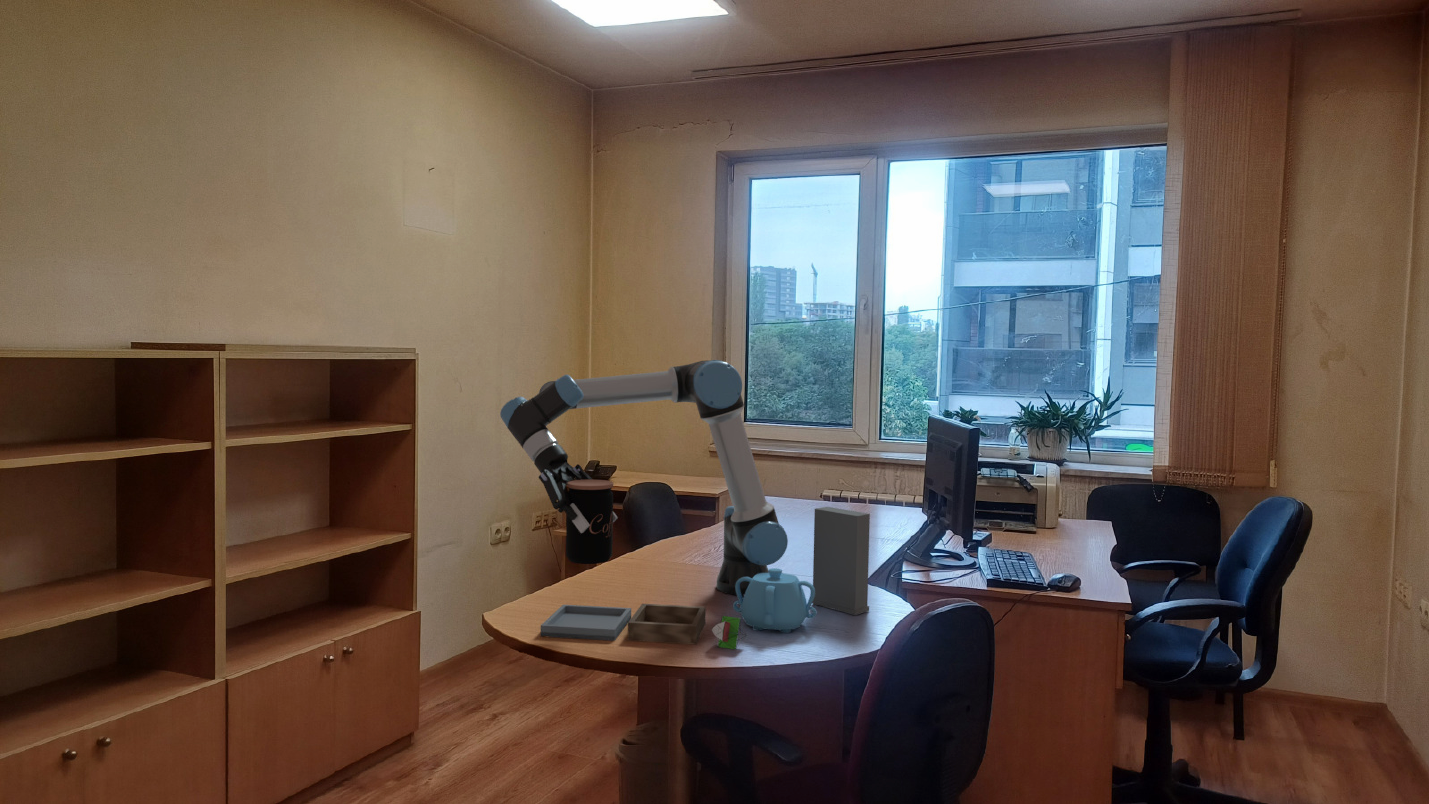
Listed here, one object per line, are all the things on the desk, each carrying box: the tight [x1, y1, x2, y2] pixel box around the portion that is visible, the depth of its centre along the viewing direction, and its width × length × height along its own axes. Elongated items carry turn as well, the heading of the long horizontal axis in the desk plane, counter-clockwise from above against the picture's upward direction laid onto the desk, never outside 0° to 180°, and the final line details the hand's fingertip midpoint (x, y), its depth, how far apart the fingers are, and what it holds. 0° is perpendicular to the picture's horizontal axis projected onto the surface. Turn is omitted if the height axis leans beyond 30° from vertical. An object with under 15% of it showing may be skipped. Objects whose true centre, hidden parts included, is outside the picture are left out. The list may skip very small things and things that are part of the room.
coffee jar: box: [565, 478, 614, 565], centre depth 200 cm, size 11×11×18 cm
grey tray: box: [540, 604, 632, 642], centre depth 201 cm, size 17×17×2 cm
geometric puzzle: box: [710, 615, 747, 651], centre depth 189 cm, size 7×7×8 cm
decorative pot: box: [732, 567, 818, 634], centre depth 205 cm, size 16×16×14 cm
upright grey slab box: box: [811, 506, 871, 616], centre depth 220 cm, size 14×6×25 cm, turn 44°
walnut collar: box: [627, 603, 707, 645], centre depth 199 cm, size 15×15×4 cm
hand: (600, 525), depth 199 cm, fingers closed on coffee jar, 11 cm apart
